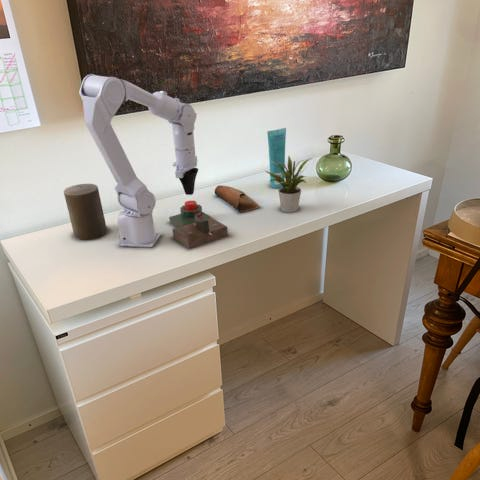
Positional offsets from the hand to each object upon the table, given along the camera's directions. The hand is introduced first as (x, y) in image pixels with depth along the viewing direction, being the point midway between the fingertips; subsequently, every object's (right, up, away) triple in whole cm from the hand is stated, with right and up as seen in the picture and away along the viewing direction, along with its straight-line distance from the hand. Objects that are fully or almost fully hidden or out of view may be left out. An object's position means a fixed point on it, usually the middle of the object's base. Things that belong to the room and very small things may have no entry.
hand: (189, 194), depth 150 cm
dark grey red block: (+4, -12, -9) cm, 16 cm away
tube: (+28, +10, +27) cm, 40 cm away
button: (0, -4, +3) cm, 5 cm away
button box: (0, -8, +3) cm, 9 cm away
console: (+4, -14, -6) cm, 16 cm away
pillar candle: (-30, -12, 0) cm, 32 cm away
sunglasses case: (+14, +1, +16) cm, 21 cm away
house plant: (+32, -2, +9) cm, 33 cm away
